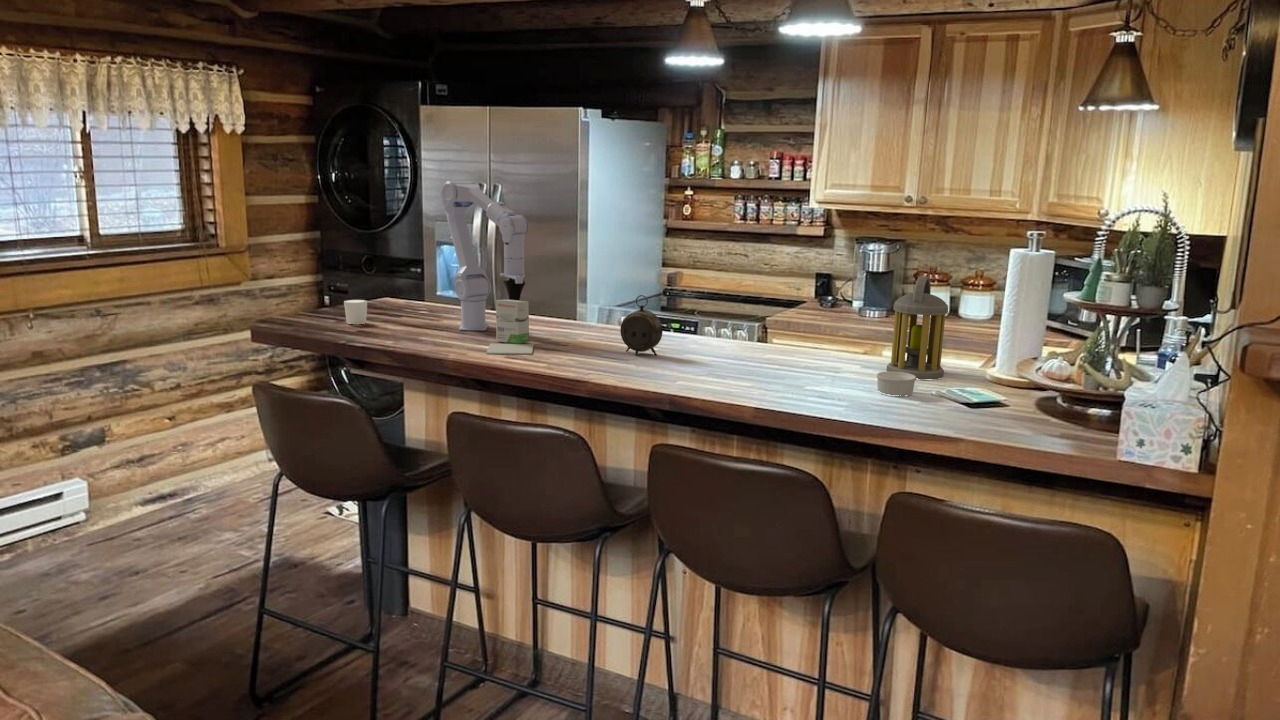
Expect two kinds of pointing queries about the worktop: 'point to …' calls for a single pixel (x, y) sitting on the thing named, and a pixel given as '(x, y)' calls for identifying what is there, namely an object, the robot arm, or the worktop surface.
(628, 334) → the alarm clock
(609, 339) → the worktop surface
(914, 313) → the lantern
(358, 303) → the white cup
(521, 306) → the ink box
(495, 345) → the mat
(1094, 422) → the worktop surface
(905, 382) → the ramekin
